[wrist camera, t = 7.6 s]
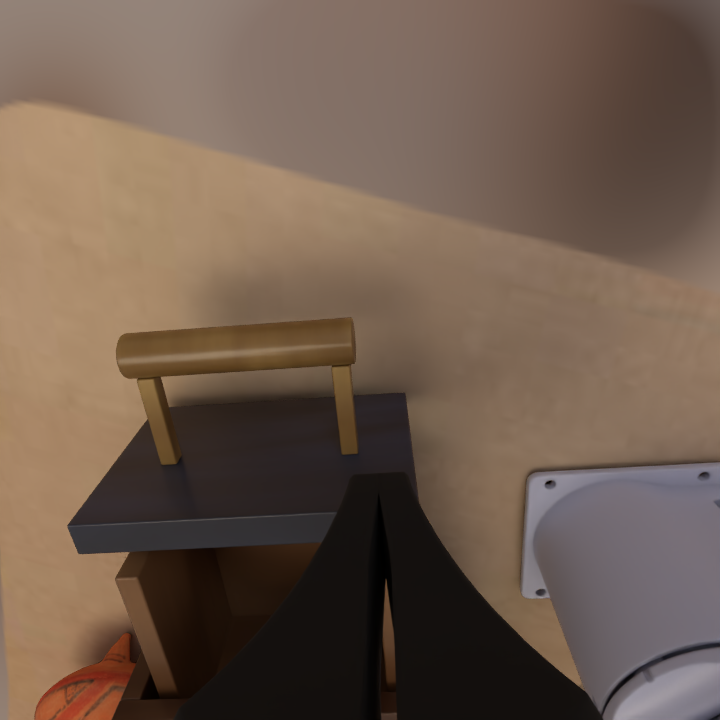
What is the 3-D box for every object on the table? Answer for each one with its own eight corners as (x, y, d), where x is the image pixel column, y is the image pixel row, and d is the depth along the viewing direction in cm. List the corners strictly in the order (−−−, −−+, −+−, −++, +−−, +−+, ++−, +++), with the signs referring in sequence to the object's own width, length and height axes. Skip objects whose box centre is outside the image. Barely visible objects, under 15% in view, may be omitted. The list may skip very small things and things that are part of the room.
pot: (38, 626, 30) (-13, 751, 23) (181, 599, 31) (168, 710, 25) (73, 719, 33) (35, 851, 26) (202, 689, 34) (194, 808, 28)
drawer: (125, 299, 21) (7, 383, 14) (399, 279, 20) (413, 356, 13) (212, 609, 28) (163, 762, 21) (416, 601, 27) (430, 755, 21)
